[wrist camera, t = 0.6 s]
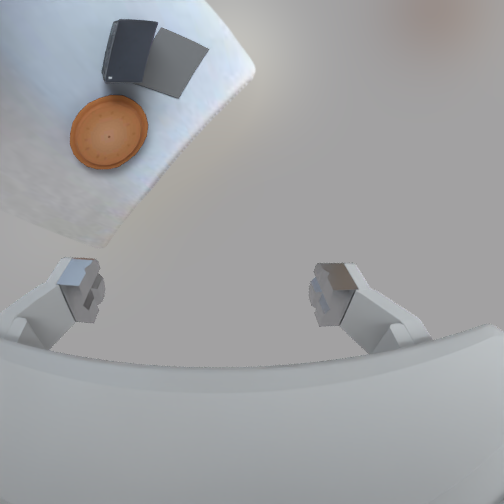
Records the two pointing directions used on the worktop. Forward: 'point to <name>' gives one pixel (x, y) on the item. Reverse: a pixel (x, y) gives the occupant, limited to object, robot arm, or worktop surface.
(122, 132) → the pie
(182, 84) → the rubber mat
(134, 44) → the small box
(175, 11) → the worktop surface
